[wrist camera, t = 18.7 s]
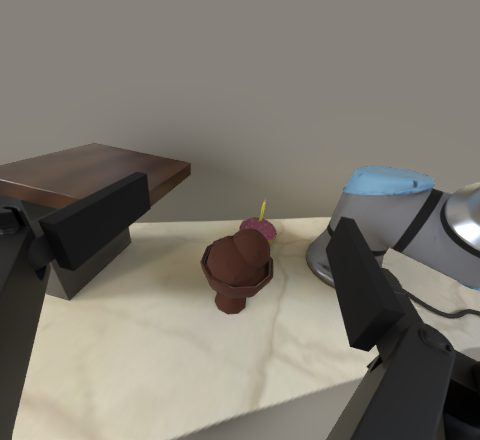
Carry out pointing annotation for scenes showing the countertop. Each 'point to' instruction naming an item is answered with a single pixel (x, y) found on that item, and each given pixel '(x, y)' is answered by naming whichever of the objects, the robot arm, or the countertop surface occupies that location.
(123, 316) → the countertop surface
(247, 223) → the cupcake
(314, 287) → the countertop surface
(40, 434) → the countertop surface
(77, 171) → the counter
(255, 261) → the ice cream bowl
